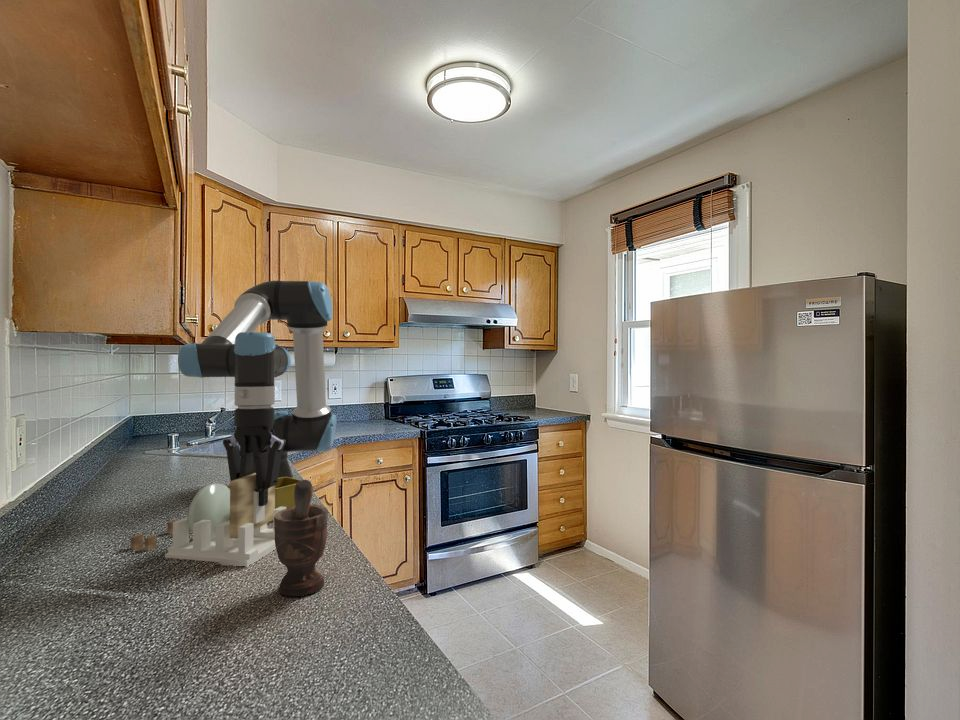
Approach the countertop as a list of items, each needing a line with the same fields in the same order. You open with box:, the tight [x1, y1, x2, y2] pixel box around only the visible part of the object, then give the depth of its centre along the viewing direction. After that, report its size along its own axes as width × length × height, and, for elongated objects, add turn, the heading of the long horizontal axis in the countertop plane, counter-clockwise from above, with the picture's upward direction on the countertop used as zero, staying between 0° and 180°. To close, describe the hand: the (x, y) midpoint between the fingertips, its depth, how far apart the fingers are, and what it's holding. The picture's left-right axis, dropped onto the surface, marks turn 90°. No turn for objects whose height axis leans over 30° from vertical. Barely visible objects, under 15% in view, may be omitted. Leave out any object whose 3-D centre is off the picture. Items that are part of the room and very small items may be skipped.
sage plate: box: [187, 482, 230, 538], centre depth 100 cm, size 11×1×11 cm, turn 170°
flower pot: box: [275, 477, 302, 509], centre depth 119 cm, size 9×9×9 cm
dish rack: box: [164, 506, 286, 568], centre depth 99 cm, size 15×18×7 cm
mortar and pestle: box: [273, 479, 329, 597], centre depth 80 cm, size 12×9×20 cm
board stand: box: [130, 519, 192, 552], centre depth 102 cm, size 11×4×3 cm, turn 170°
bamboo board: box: [229, 473, 275, 539], centre depth 98 cm, size 12×2×11 cm, turn 170°
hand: (253, 520), depth 98 cm, fingers closed on bamboo board, 2 cm apart
